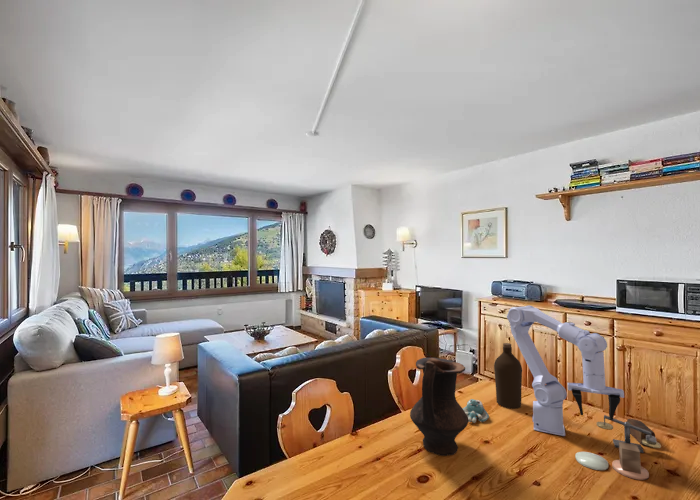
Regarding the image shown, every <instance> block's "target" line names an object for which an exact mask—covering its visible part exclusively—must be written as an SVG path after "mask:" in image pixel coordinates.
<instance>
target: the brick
mask: <svg viewBox="0 0 700 500" xmlns="http://www.w3.org/2000/svg"><path fill="white" fill-rule="evenodd" d="M625 422H628V423H630V425H633V426H636V427H638V428H641V429H644V430H646V431H649V432H651V433H652V436H654V437H656V434H655V432H654V430H652V429H651V428H649V426H648V425H646V424H645V423H644V422H643V421H641V420H638V419H635V418H627V420H626V421H625ZM646 435H648V434H645V433H643V432H640V431H637V430H635V429H632V428H630V436H632V437H633V438H634V439H635V440H636V441H637V442H638V443H639V444H640V445H641V446H645V447H647V446H646V445H644V444H643V443H642V439H646Z"/></svg>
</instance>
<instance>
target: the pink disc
mask: <svg viewBox="0 0 700 500" xmlns="http://www.w3.org/2000/svg"><path fill="white" fill-rule="evenodd" d="M611 467H612V468H613V469H614V471H615V472H617V473H618V474H620V475H622V476H624V477H626V478H630V479H632V480H639V481H644V480H645V481H646V480H648V479H649V478H650V474H649V473H650V472H649V470H647V468H645V467H644V466H642V465H641V474H638V473H634V472H629V471H625V470H622V467H621V464H620V459H615V460H613V461H612V466H611Z"/></svg>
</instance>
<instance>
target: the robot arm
mask: <svg viewBox="0 0 700 500" xmlns="http://www.w3.org/2000/svg"><path fill="white" fill-rule="evenodd" d="M506 319H507V321H508V323H509V326H510V331H511V335H512V337H513V338H514V340H515V343H516V345H517V347H518V349H519V352H520V353H521V355H522V356H523V359H524V361H525V362H526V365H527V368H528V369H529V371H530V372H531V373H530V374H532V377H533V381H532V384H531V386H532V388H533V393H534V398H535V399H536V400H533V401H532V413H533V414H532V423H533V430H534V431H538V432H543V433H547V434H551V435H552V434H553V435H558V436H560V437H561V436H562V437H565V436H566V431H565V425H564V411H563V410H564V407H563V405H564V400H566V398H567V394H568V393H567V390H568V391H570V392H571V394H572V395H573V398H574V399H575V402H576V404H577V406H578V410H579V414H580V416H584V411H583V410H584V409H583V396H582V392H585V393H591V394H599V395H607V396H608V397H607V398H608V416H609V418H610V420H609V421H611V420H613V418H614V416H615V412H616V410H617V407H618V406H619V404H620V403H621V398H622V399H624V398H625V391H624V390H623V389H622V388H615V387H611V386H606V373H605V372H606V369H605V357H604V355H605V352H604V351H606V349H607V347H608V344H607V343H608V342H607V340H606V339H605V337H603V336H602V335H601V334H599V333H598V332H597V333H596V332H595V333H590V330H587V329H583V328H581V327H579V326H576V324H575V323H574V322H566V321H565V322H561V321H559V320H557V319H556V318H554V317H552V316H550V315H549V314H548V313H545V312H543V311H542V310H540V309H539V308H537V307H535V306H533V305H526V306H513V307H510V308H509V310H508V312H507V315H506ZM534 323H538V324H540V325H542V326H545V327H547V328H548V329H550V330H553V331H555V332H557V335H558V336H559V337H560V338H561V339H563V340H565V341H567V342H568V343H570V344H573V345H574V346H576V347H577V348H578V350H579V351H580V352H581V358H582V363H581V364H582V376H583V377H582V380H583V381H582V383H580V382H566V383H567V390H566V388H565V387H564V386H563V385H562V384H561V382H560V381H559V380H558V378H557V377H556V376H554V375H553V374H551V373H550V371H549V370H548V368H547V366H546V363H545V362H544V360H543V358H542V356H541V355H540V353H539V351H538V348H537V347H536V345H535V343H534V341H533V339H532V337H531V335H530V333H529V331H530V328H531V327H532V326H533V324H534Z"/></svg>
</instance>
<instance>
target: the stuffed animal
mask: <svg viewBox="0 0 700 500" xmlns="http://www.w3.org/2000/svg"><path fill="white" fill-rule="evenodd" d="M462 409H463V410H464V412H465V413H466V415H467V417H468V420H469V422H468V423H473V424H476V423H477V420H478V422H480V423H484V422H486V421H487V420H488V419H489V418H490V416H489V415H490V414H489V413H488V412H487V410H486V409H485V407H484V404H483V402H482V401H481V400H479V399H473V398H471V399H468V401H467V404H466V406H464V407H462ZM476 416H477V417H476Z"/></svg>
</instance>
